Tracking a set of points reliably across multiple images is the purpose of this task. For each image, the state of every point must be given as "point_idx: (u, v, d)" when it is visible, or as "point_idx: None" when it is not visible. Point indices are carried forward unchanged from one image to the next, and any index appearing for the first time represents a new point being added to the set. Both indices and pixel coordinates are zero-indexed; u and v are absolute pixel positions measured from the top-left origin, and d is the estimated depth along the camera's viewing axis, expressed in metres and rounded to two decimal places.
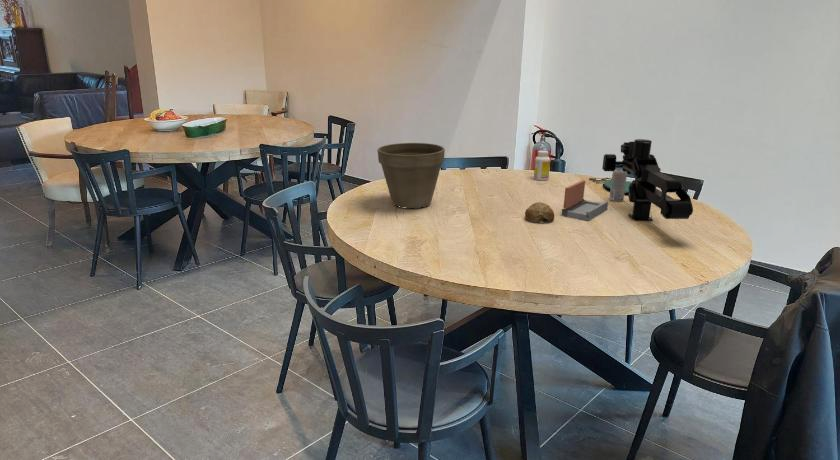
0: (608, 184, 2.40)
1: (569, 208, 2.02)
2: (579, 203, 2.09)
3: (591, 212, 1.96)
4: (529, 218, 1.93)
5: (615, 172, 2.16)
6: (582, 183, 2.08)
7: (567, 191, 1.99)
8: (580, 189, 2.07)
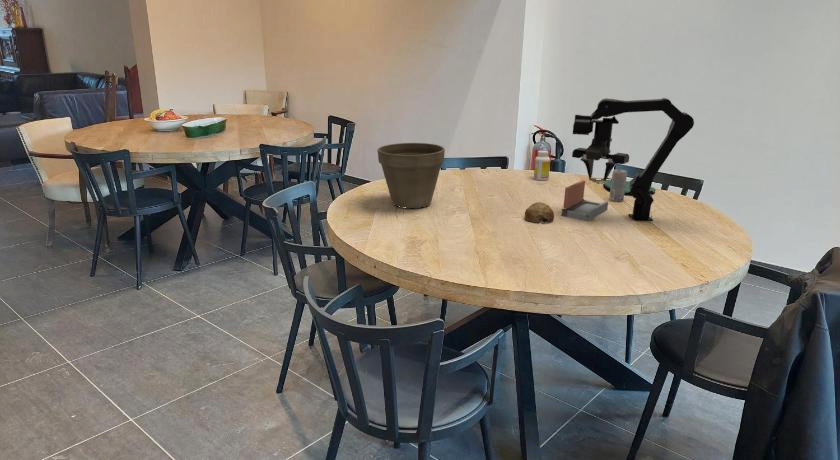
0: (608, 184, 2.40)
1: (569, 208, 2.02)
2: (579, 203, 2.09)
3: (591, 212, 1.96)
4: (529, 218, 1.93)
5: (615, 172, 2.16)
6: (582, 183, 2.08)
7: (567, 191, 1.99)
8: (580, 189, 2.07)
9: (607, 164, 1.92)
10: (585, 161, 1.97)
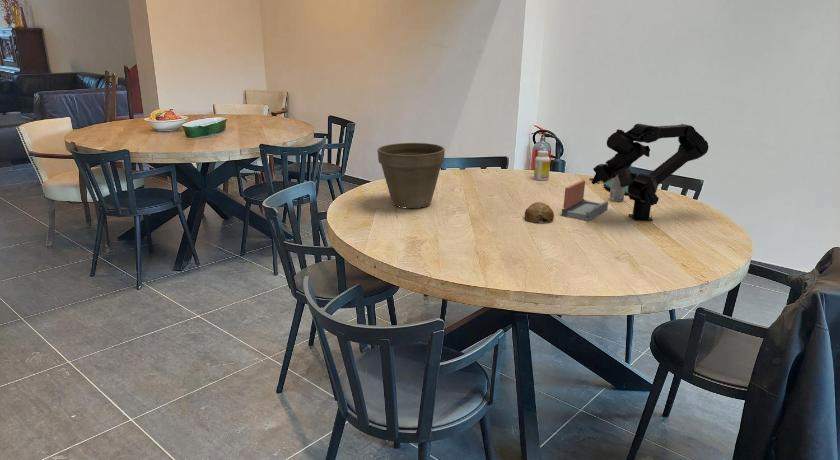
0: (609, 184, 2.40)
1: (569, 208, 2.02)
2: (579, 203, 2.09)
3: (591, 212, 1.96)
4: (529, 218, 1.93)
5: None
6: (582, 183, 2.08)
7: (567, 191, 1.99)
8: (580, 189, 2.07)
9: None
10: None
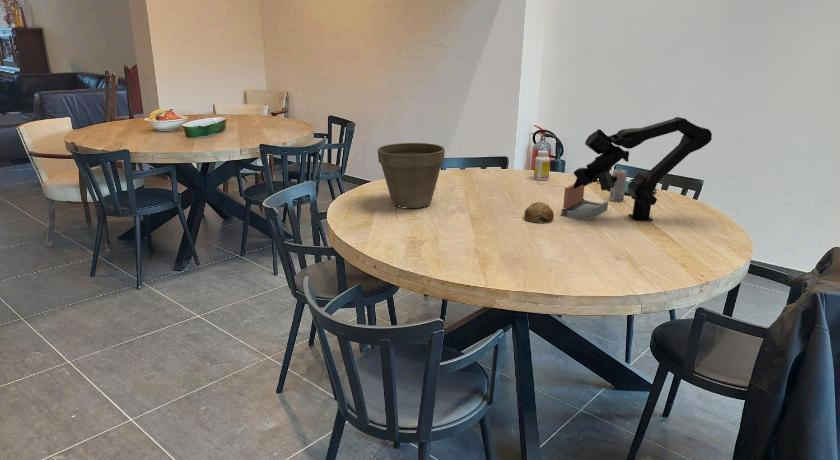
0: None
1: (569, 208, 2.02)
2: (579, 203, 2.09)
3: (591, 212, 1.96)
4: (528, 218, 1.94)
5: (615, 172, 2.16)
6: None
7: (567, 191, 1.99)
8: (579, 189, 2.07)
9: None
10: None
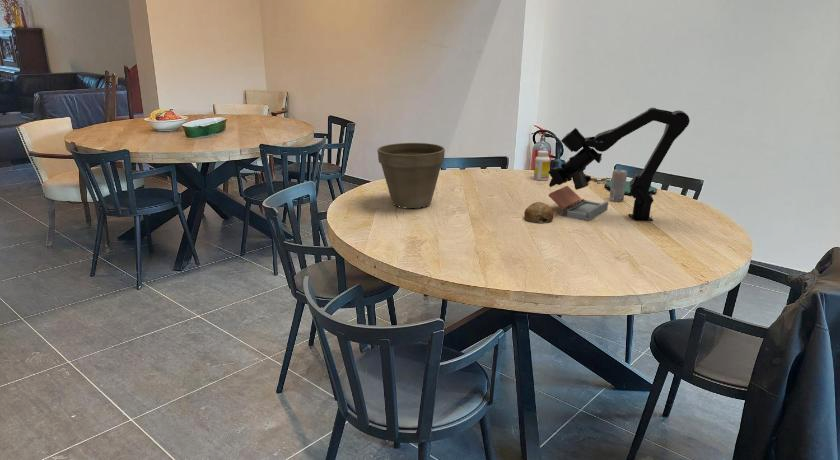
0: (610, 184, 2.39)
1: (569, 208, 2.02)
2: (579, 203, 2.09)
3: (591, 212, 1.96)
4: (528, 218, 1.94)
5: (615, 172, 2.16)
6: (565, 187, 2.12)
7: (552, 196, 2.03)
8: (568, 192, 2.10)
9: None
10: None
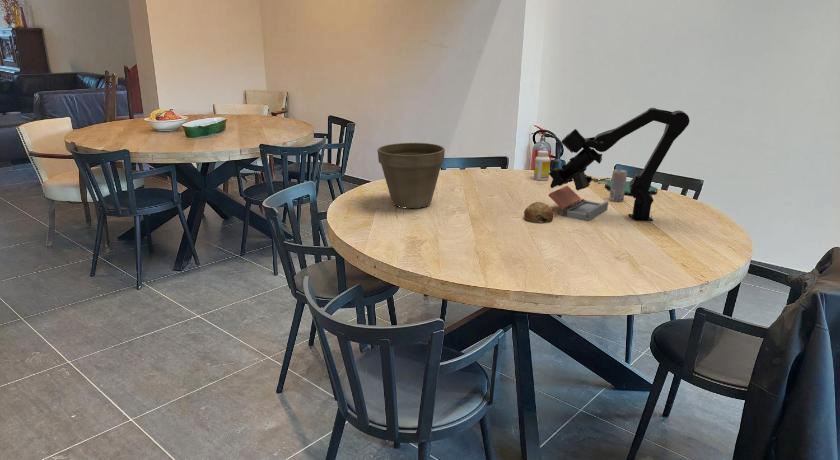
0: (610, 184, 2.39)
1: (569, 208, 2.02)
2: (579, 203, 2.09)
3: (591, 212, 1.96)
4: (528, 218, 1.94)
5: (615, 172, 2.16)
6: (565, 187, 2.12)
7: (552, 196, 2.03)
8: (568, 192, 2.10)
9: None
10: None
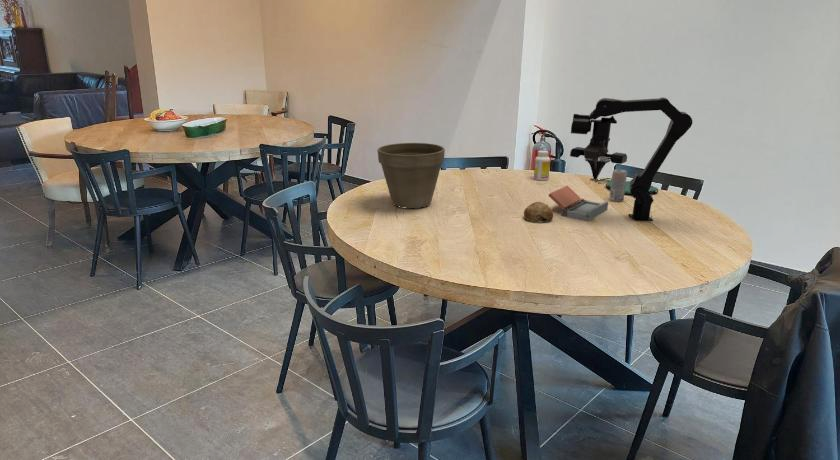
0: None
1: (569, 208, 2.02)
2: (579, 203, 2.09)
3: (591, 212, 1.96)
4: (528, 218, 1.94)
5: (615, 172, 2.16)
6: (565, 187, 2.12)
7: (552, 196, 2.03)
8: (568, 192, 2.10)
9: (598, 162, 1.94)
10: (590, 161, 1.96)
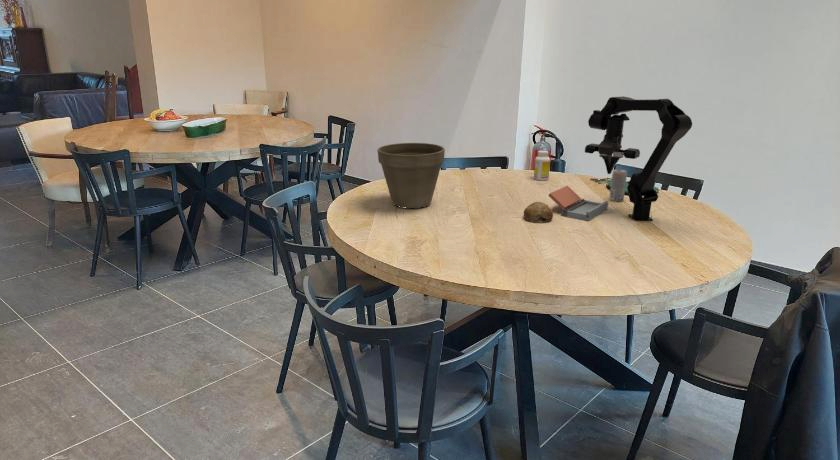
0: None
1: (569, 208, 2.02)
2: (579, 203, 2.09)
3: (591, 212, 1.96)
4: (528, 217, 1.94)
5: (615, 172, 2.16)
6: (565, 187, 2.12)
7: (552, 196, 2.03)
8: (568, 192, 2.10)
9: (612, 158, 2.02)
10: (604, 157, 2.04)
